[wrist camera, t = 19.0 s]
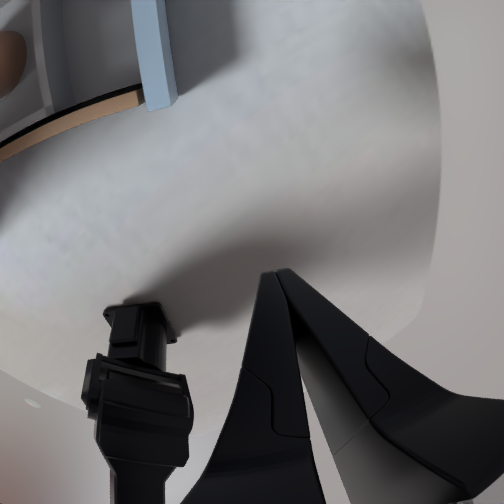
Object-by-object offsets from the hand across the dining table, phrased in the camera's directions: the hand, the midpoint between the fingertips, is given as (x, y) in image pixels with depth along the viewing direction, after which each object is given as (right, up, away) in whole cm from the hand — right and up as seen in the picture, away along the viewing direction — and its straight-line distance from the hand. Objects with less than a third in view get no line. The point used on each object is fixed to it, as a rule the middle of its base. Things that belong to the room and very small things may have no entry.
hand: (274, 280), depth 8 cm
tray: (-15, +15, +2) cm, 21 cm away
